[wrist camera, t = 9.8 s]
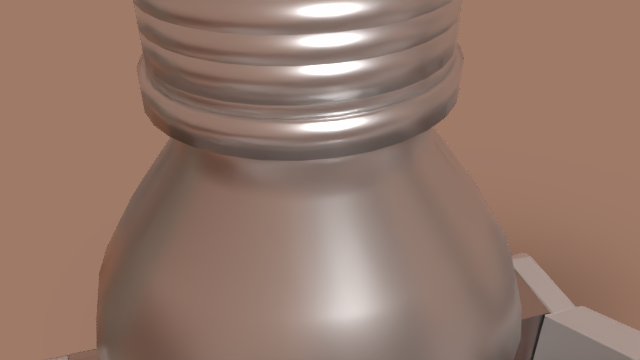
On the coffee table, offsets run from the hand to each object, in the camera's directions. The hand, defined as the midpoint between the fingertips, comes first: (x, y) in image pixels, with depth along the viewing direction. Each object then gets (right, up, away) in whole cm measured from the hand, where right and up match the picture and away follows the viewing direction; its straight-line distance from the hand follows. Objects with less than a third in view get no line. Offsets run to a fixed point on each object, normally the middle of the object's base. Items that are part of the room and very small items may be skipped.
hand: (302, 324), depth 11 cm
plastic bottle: (+1, -11, +6) cm, 13 cm away
